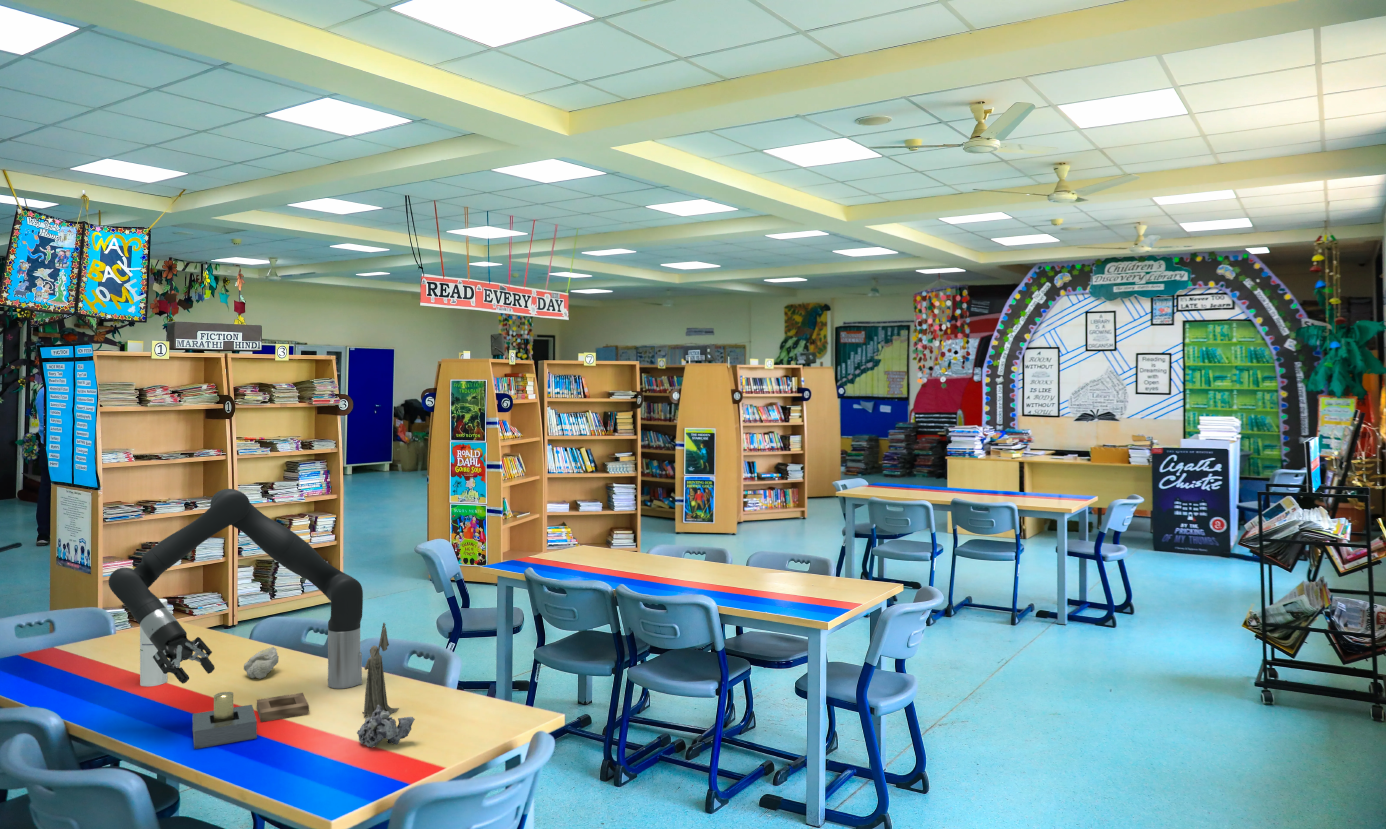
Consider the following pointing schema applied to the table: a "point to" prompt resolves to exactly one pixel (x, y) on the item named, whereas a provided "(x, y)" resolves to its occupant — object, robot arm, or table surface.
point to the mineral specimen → (383, 728)
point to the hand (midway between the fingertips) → (199, 676)
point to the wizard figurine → (376, 679)
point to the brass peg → (223, 707)
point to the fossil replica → (261, 663)
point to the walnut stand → (282, 707)
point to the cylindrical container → (150, 661)
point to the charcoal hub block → (224, 728)
